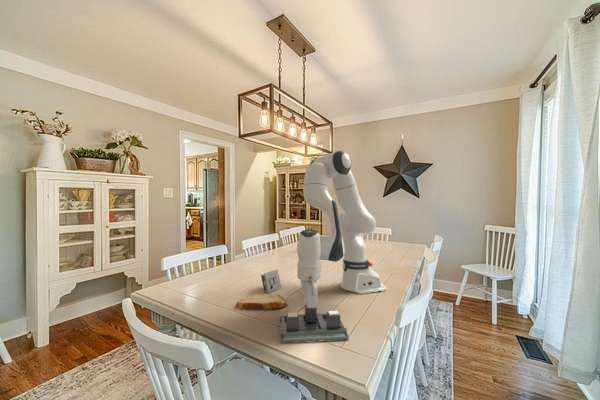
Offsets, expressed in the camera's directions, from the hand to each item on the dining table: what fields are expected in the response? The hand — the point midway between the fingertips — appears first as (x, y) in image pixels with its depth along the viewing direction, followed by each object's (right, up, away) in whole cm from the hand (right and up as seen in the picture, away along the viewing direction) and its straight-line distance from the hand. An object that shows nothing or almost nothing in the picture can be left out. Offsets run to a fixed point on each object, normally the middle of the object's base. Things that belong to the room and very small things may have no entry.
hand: (308, 309), depth 92 cm
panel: (+1, -4, -7) cm, 8 cm away
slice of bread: (-19, -4, +11) cm, 23 cm away
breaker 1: (-6, -2, -11) cm, 12 cm away
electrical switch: (-18, -3, +28) cm, 34 cm away
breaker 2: (+8, -2, -9) cm, 13 cm away
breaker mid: (+1, -2, -4) cm, 4 cm away
